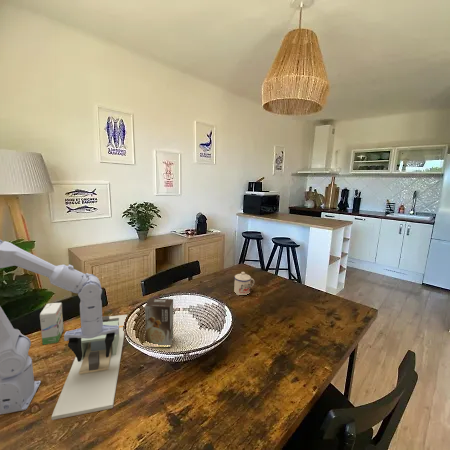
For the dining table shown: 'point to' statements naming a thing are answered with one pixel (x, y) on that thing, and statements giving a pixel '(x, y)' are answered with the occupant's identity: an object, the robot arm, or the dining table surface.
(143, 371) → the dining table surface
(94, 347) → the block
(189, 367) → the dining table surface
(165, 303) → the coffee box
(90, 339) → the tunnel
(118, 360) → the deck
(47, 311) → the ink box
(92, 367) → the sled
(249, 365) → the dining table surface
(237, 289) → the teacup with lid
